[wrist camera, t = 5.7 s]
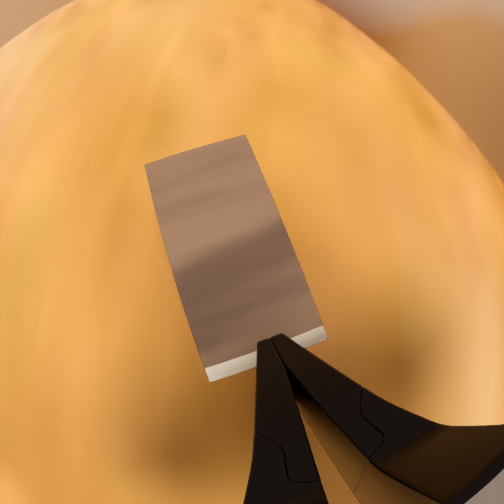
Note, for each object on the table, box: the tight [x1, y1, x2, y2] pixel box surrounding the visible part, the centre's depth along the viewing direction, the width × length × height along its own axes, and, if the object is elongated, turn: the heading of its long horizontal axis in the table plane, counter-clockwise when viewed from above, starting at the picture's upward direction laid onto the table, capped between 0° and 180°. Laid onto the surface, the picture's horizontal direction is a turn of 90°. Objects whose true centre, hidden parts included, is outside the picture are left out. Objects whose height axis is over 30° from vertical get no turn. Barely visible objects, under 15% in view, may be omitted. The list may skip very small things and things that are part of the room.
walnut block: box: [145, 135, 328, 382], centre depth 15 cm, size 5×5×10 cm
